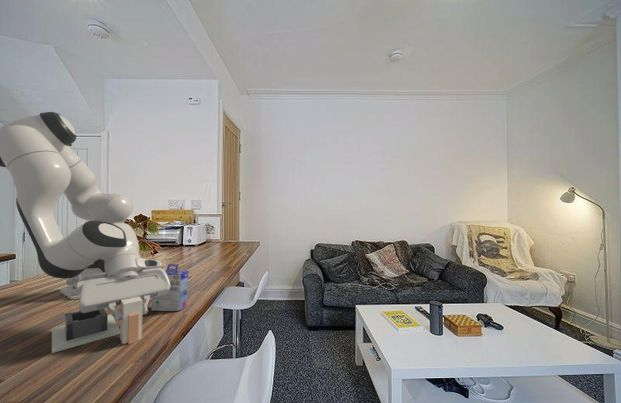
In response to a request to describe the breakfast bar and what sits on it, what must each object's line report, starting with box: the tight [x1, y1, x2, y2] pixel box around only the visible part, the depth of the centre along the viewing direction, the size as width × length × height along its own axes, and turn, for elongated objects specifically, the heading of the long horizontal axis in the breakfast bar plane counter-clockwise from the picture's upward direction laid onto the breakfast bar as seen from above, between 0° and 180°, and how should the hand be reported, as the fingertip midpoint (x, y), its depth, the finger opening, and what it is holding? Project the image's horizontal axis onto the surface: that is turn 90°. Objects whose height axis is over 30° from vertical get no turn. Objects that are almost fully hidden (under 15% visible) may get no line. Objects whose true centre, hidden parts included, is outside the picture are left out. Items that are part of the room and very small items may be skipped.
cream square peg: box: [119, 296, 144, 345], centre depth 66 cm, size 5×4×10 cm
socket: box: [51, 308, 120, 354], centre depth 69 cm, size 14×13×5 cm
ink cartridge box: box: [150, 263, 189, 312], centre depth 86 cm, size 10×6×14 cm, turn 89°
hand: (132, 316), depth 66 cm, fingers closed on cream square peg, 4 cm apart
